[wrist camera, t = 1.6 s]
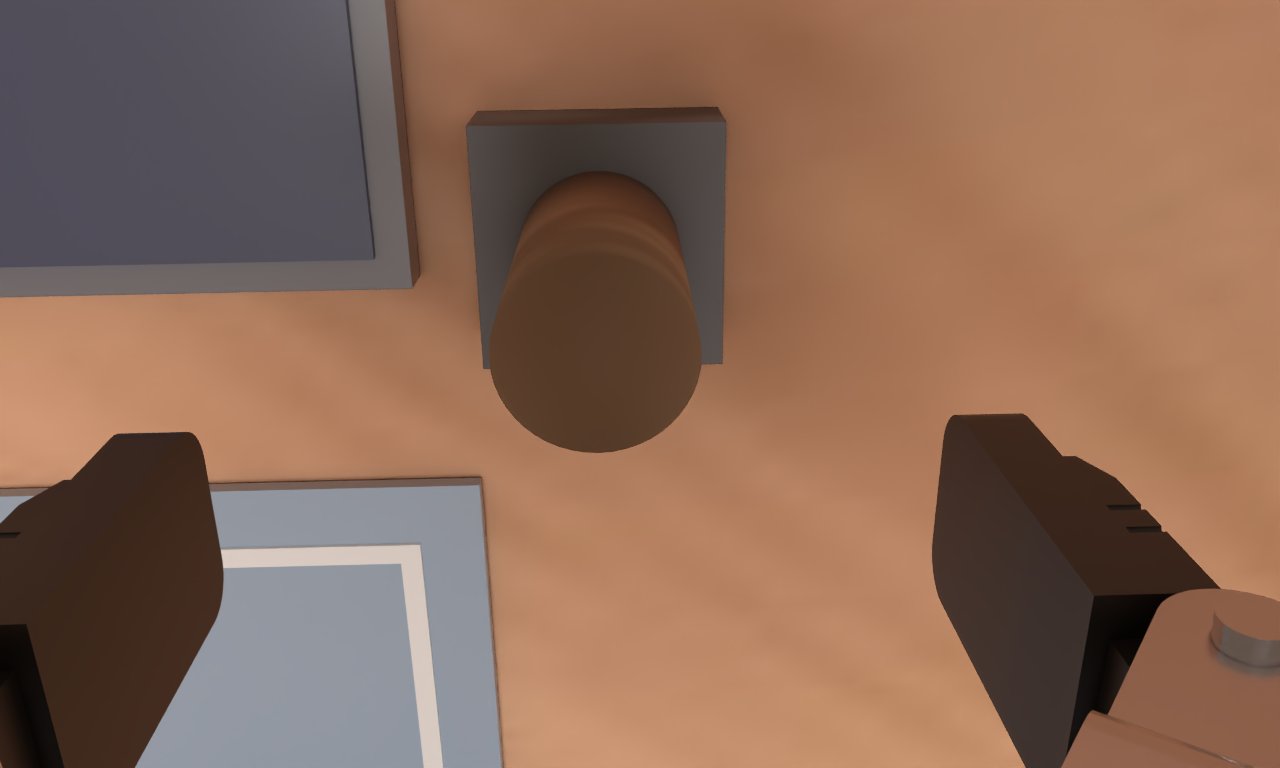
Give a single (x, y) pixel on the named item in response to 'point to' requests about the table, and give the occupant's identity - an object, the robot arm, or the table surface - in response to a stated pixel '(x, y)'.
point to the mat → (340, 631)
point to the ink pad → (202, 148)
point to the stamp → (598, 265)
